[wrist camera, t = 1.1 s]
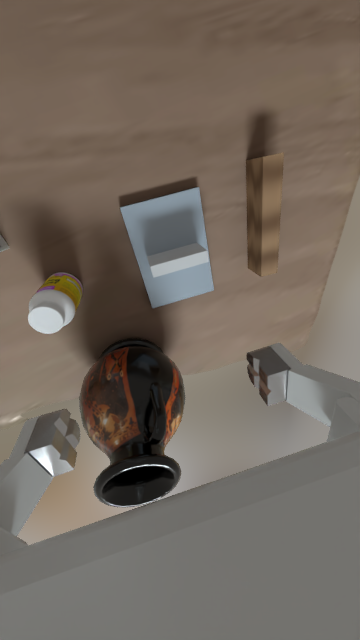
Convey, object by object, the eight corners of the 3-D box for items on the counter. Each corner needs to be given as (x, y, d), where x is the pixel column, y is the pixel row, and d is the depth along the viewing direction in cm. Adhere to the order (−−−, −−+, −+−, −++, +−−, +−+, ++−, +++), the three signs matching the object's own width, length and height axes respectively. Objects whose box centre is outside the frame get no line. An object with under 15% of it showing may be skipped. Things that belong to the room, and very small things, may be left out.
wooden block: (245, 160, 40) (263, 156, 35) (263, 156, 40) (284, 152, 35) (247, 267, 51) (261, 276, 46) (262, 264, 51) (277, 272, 46)
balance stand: (120, 207, 39) (119, 211, 33) (196, 187, 40) (211, 187, 34) (151, 305, 50) (156, 323, 43) (211, 287, 51) (225, 303, 44)
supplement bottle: (66, 264, 42) (47, 291, 31) (90, 292, 46) (80, 324, 35) (37, 283, 43) (8, 316, 32) (63, 309, 46) (45, 346, 35)
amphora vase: (153, 399, 65) (170, 520, 41) (75, 384, 56) (40, 526, 33) (189, 341, 57) (235, 449, 34) (104, 314, 49) (87, 433, 25)
